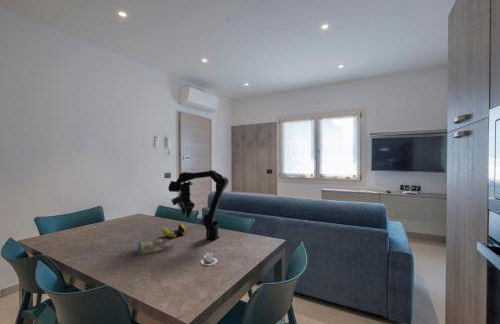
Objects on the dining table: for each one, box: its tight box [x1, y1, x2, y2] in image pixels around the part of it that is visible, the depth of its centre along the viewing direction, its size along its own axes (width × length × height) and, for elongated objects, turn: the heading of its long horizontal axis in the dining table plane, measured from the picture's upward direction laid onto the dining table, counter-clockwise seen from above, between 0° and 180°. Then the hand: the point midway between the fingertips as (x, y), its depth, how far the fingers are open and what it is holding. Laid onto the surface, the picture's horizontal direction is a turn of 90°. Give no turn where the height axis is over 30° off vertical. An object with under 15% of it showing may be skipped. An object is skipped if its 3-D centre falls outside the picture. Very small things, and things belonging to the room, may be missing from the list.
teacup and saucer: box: [200, 252, 218, 266], centre depth 111 cm, size 9×8×4 cm
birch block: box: [136, 238, 164, 255], centre depth 125 cm, size 4×4×12 cm
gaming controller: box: [161, 223, 187, 239], centre depth 150 cm, size 15×6×10 cm
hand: (185, 216), depth 147 cm, fingers open, 9 cm apart
